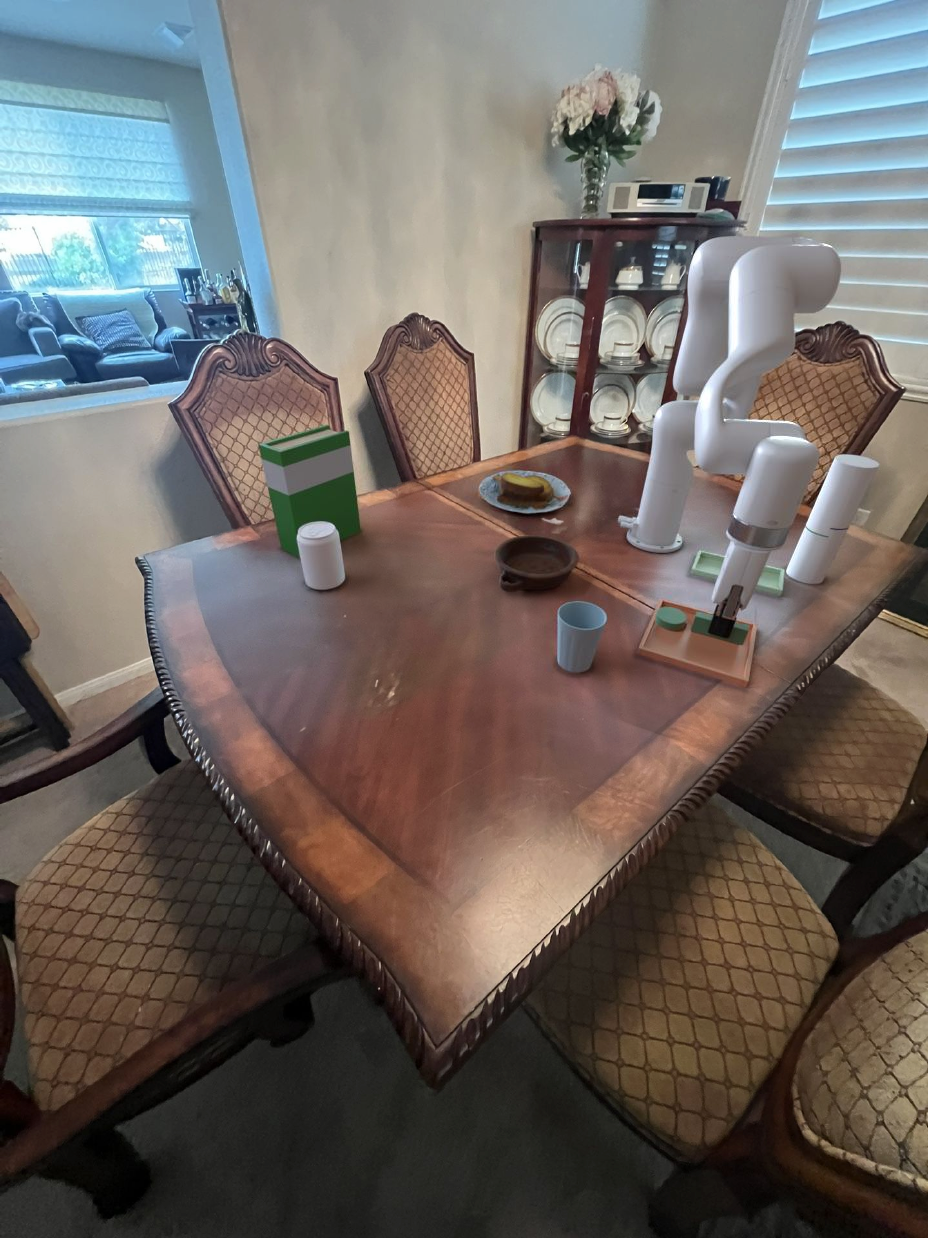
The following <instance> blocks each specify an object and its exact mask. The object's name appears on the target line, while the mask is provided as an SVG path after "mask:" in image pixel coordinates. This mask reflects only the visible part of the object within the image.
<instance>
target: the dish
mask: <svg viewBox="0 0 928 1238" xmlns="http://www.w3.org/2000/svg"><path fill="white" fill-rule="evenodd" d="M494 559H495V561H496V563H497V565H498V569H499V572H500V573H501V575H500V577H499V583H498V584H499V585H498V586H499V588H500V589H501V590H503V591H505V592H516V591H519V590H522V589H525V590H531V591H542V590H543V591H545V590H549V589H553V588H555V587H558V586H560V585H562V584H563V583H564V582H566V580H567V579H569V577H570V575H571V573H572V572H573V570H574V569H575V568H576V567H577V566H578V563H579V562H580V561H579V560H580V556H579V553H578V552H577V550H576V548H574V547H573V546H572V545H570V544H568V543H567V542H565V541H563V540H560V539H557V538H553V537H550V536H548V537H547V536H543V535H537V534H536V535H535V534H534V535H533V534H530V535H519V536H514V537H510V538H508V539H506V540H505V541H503V542H501V543H500V544H498V545H497V547H496V548H495V550H494Z"/></svg>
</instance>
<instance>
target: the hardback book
mask: <svg viewBox="0 0 928 1238" xmlns="http://www.w3.org/2000/svg"><path fill="white" fill-rule="evenodd" d="M257 446H258V450H259V454H260V459H261V464H262V468H263V473H264V478H265V482H266V486H267V491H268V496H269V499H270V504H271V508H272V513H273V516H274V517H273V519H274V522H275V526H276V531H277V535H278V539H279V544H280V549H281V550H283V551H284V552H286V553H289V554H291V555H293V556H295V557H296V558H299V559H300V560H301V558H300V553H299V548H298V543H297V535H298V530H299V528H300V527H301V526H303V525H305V524H308V523H311V522H319V521H322V522H329V523H331V524H333V525H334V526H335V528H336V530H337V531H338V533H339V538H340V542H341V541H342V540H345V539H347V538H350V537H352V536H354V535H356V534H359V533H360V532H362V528H361V520H360V513H359V511H360V510H359V503H358V494H357V486H356V478H355V469H354V462H353V453H352V445H351V436H350V431H349V430H342V431H339V432H338V431H335V430H332V429H331V425H330V424H324V425H321V426H317V427H313V428H311V429H307V430H303V431H300V432H296V433H292V434H289V435H286V436H282V437H279V438H275V439H272V440H268V441H265V442H261V443H258V444H257Z"/></svg>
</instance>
